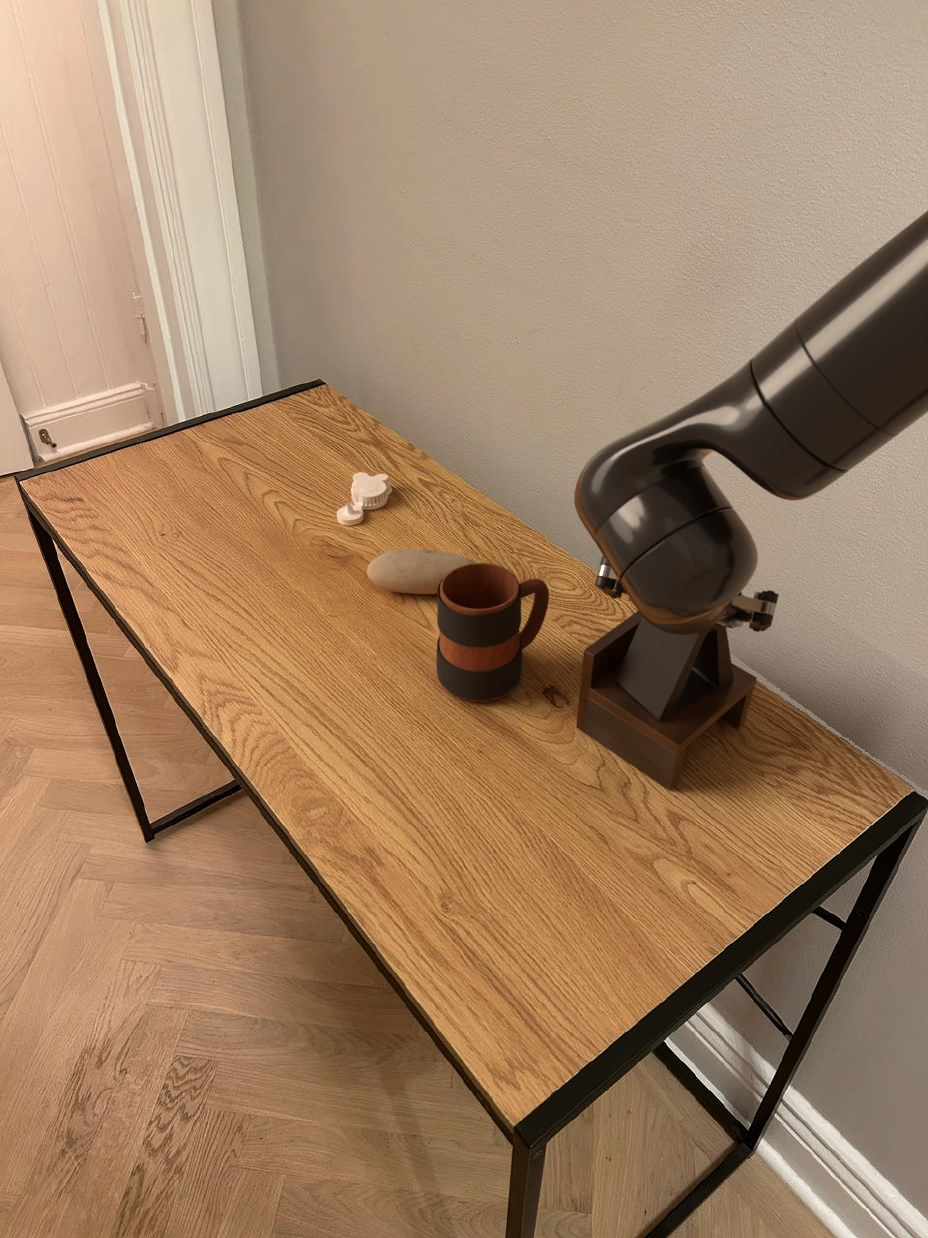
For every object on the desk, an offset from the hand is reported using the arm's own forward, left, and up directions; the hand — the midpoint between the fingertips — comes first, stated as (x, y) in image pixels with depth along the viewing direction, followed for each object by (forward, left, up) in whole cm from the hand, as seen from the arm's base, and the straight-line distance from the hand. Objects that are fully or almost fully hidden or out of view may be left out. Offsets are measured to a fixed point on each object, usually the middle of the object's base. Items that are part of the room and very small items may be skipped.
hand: (689, 606), depth 82 cm
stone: (+31, +3, -14) cm, 35 cm away
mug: (+16, +7, -14) cm, 23 cm away
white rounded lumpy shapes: (+50, -4, -14) cm, 53 cm away
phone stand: (-1, +1, -8) cm, 8 cm away
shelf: (-1, +1, -14) cm, 14 cm away
